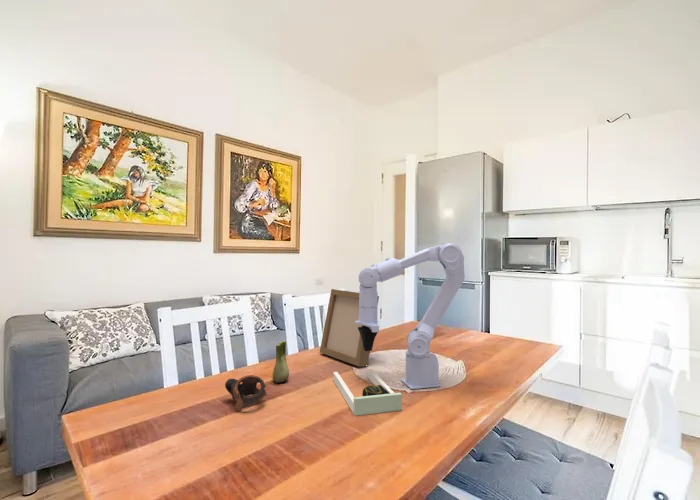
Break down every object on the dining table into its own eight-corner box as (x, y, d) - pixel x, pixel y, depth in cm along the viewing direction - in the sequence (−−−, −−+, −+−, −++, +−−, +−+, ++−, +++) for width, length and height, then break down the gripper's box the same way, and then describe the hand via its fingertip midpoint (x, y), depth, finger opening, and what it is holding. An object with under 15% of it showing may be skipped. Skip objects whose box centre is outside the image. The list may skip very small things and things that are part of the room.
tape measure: (392, 407, 92) (392, 392, 92) (367, 410, 90) (367, 395, 90) (382, 396, 98) (382, 383, 98) (359, 399, 96) (359, 385, 96)
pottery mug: (272, 398, 98) (273, 377, 94) (254, 427, 90) (255, 406, 85) (233, 383, 100) (233, 363, 96) (213, 411, 92) (211, 390, 88)
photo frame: (358, 369, 120) (359, 295, 120) (319, 354, 136) (320, 289, 136) (387, 360, 130) (388, 292, 130) (348, 347, 146) (348, 287, 146)
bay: (371, 376, 113) (371, 364, 113) (401, 410, 90) (401, 394, 90) (333, 380, 110) (333, 367, 110) (354, 415, 86) (354, 399, 86)
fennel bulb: (283, 376, 112) (283, 339, 112) (293, 380, 109) (293, 341, 109) (268, 381, 108) (268, 342, 108) (278, 386, 105) (279, 345, 105)
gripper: (349, 303, 115) (349, 345, 116) (362, 311, 101) (362, 358, 102) (370, 302, 117) (369, 343, 117) (385, 310, 103) (385, 356, 103)
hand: (367, 350), depth 110 cm, fingers closed
